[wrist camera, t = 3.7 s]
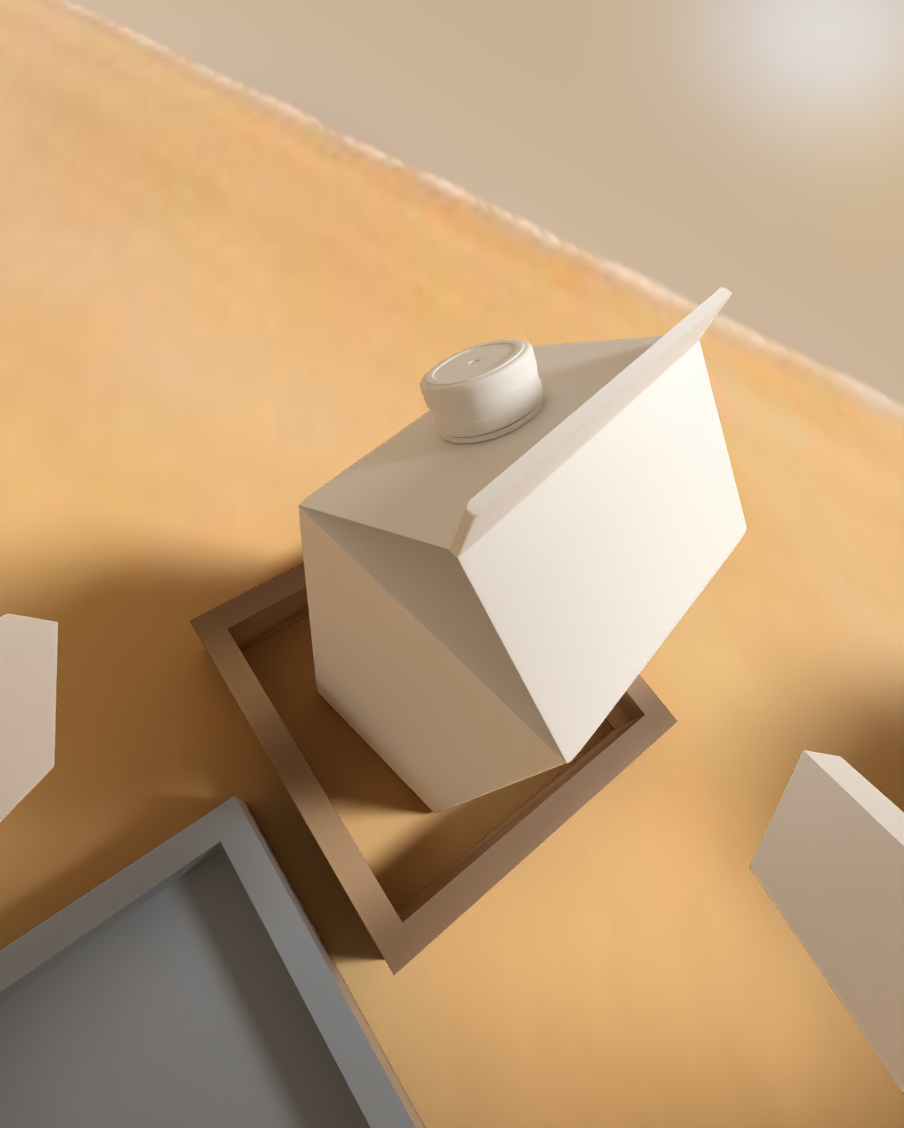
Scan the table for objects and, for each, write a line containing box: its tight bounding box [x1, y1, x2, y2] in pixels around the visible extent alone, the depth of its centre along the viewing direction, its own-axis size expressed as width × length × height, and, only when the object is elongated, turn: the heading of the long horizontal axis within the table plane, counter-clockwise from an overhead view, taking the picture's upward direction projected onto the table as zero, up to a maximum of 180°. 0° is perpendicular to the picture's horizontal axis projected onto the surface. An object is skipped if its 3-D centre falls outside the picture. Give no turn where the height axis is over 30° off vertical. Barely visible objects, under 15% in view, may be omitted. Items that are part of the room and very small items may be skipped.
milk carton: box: [299, 288, 746, 813], centre depth 17 cm, size 7×7×19 cm
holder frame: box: [190, 563, 677, 975], centre depth 24 cm, size 14×14×3 cm
